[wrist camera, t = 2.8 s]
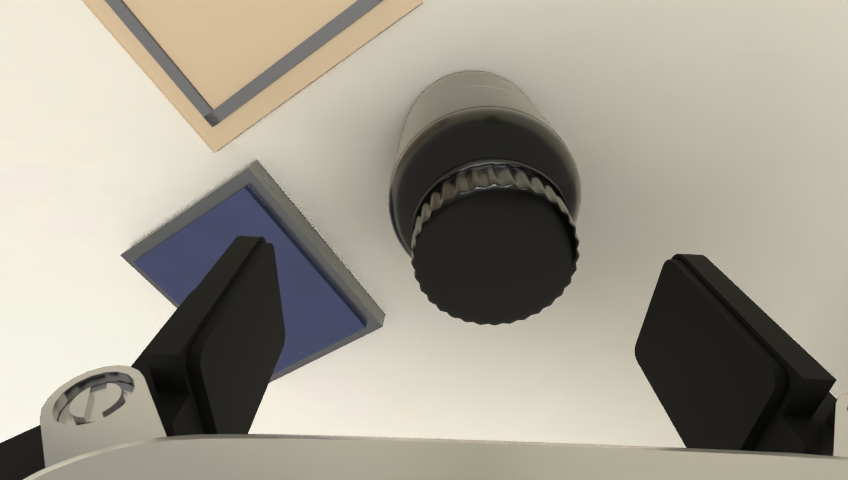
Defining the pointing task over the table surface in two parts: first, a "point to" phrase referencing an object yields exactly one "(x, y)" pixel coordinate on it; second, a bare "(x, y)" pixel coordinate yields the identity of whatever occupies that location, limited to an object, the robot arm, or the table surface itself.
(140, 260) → the ink pad
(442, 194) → the supplement bottle
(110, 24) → the card
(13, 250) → the table surface
